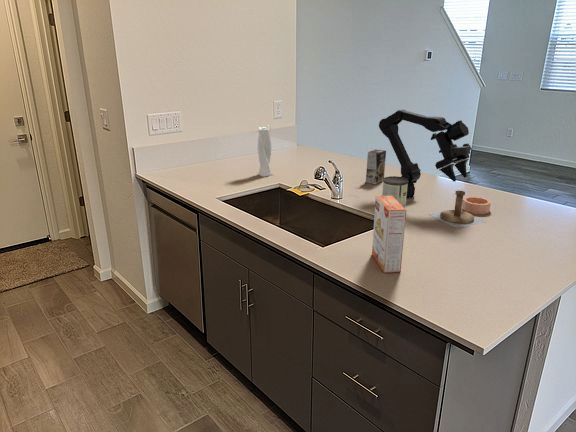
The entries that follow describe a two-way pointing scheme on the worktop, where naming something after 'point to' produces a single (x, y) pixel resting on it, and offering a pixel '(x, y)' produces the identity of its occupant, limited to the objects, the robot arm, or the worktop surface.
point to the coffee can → (396, 188)
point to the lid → (457, 212)
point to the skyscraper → (264, 151)
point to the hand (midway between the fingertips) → (460, 179)
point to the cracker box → (388, 233)
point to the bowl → (476, 205)
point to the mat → (476, 221)
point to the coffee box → (375, 166)
